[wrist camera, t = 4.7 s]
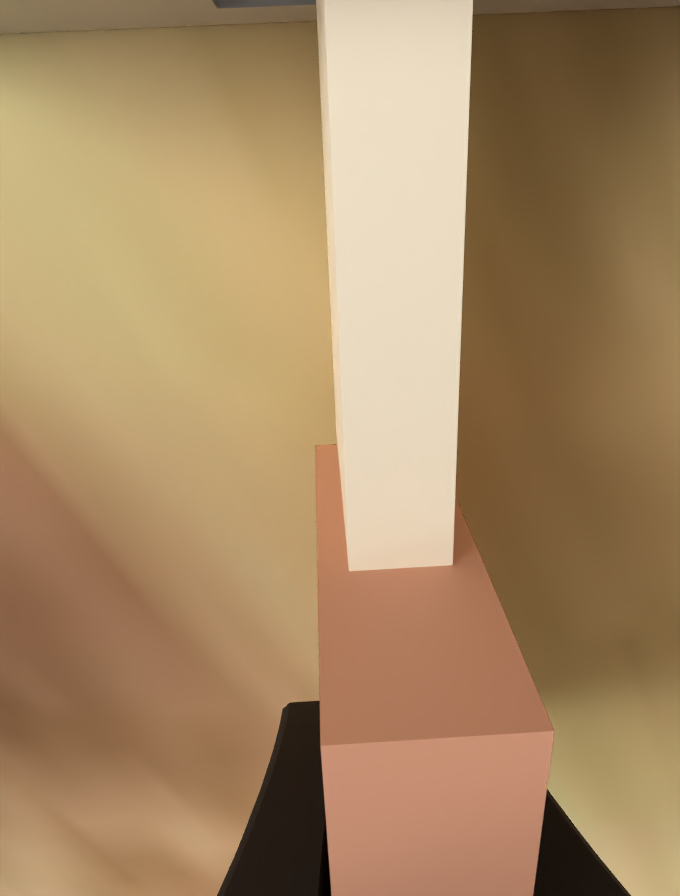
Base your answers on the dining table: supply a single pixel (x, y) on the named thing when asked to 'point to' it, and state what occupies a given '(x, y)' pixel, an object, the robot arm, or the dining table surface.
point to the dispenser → (228, 12)
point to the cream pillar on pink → (409, 491)
